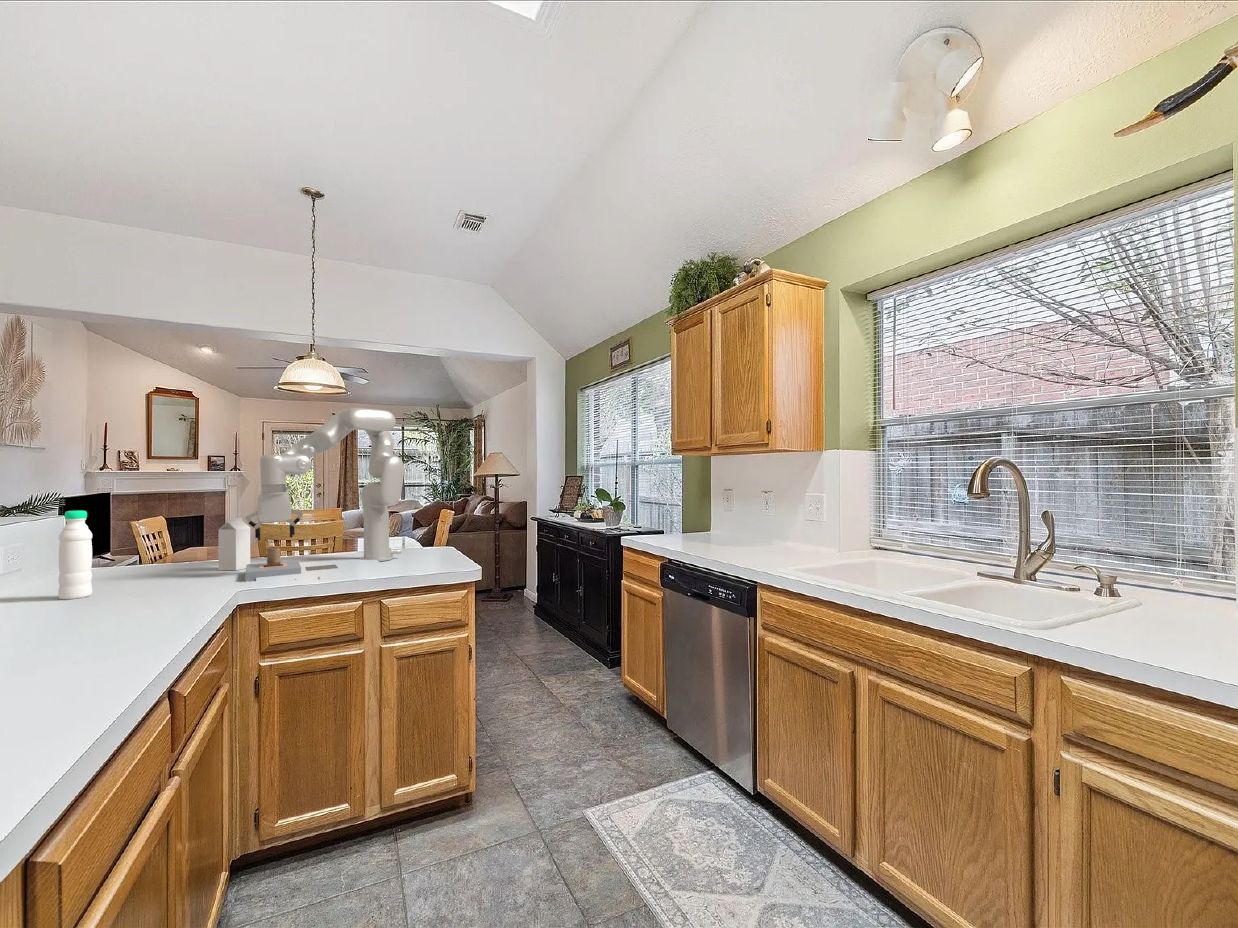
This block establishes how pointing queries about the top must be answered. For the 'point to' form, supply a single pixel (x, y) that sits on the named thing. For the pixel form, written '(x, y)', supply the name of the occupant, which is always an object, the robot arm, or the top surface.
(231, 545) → the milk carton
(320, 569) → the tongue
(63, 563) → the milk bottle
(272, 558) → the peg
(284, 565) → the hole plate
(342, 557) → the top surface
